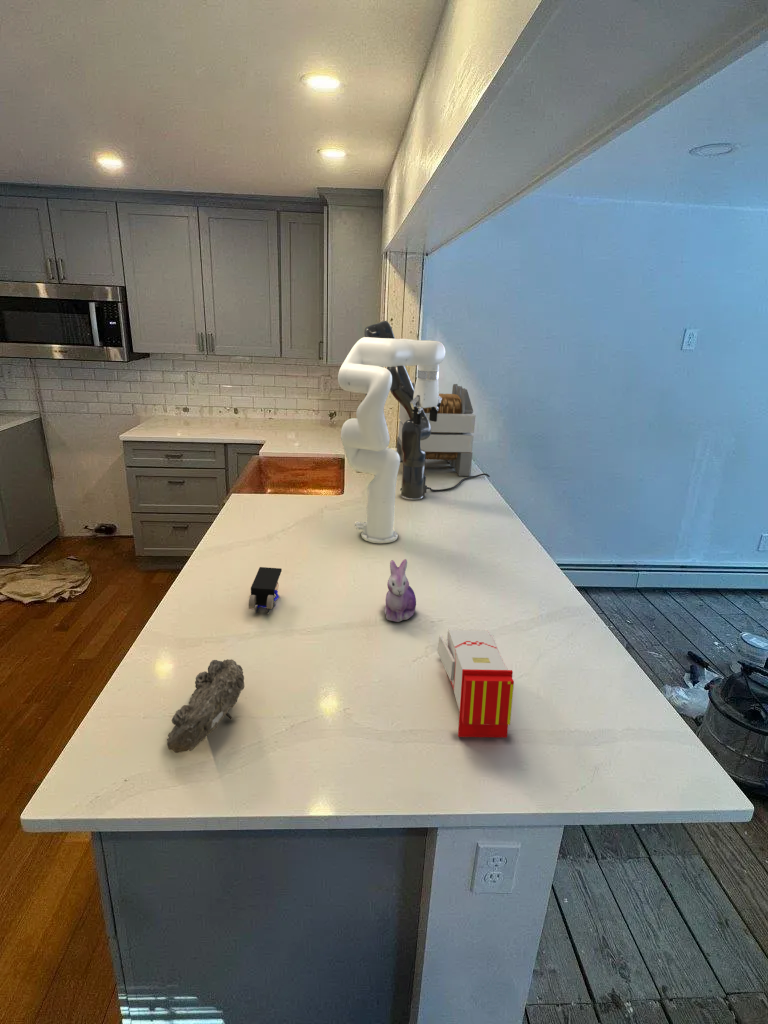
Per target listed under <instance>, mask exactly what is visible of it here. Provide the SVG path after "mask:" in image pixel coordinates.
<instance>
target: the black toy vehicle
mask: <svg viewBox="0 0 768 1024" xmlns="http://www.w3.org/2000/svg"><path fill="white" fill-rule="evenodd" d="M282 572H283V571H282V568H279V567H278V568H277V567H266V566H265V567H264V566H259V568H258V570H257V572H256V575H255V577H254V580H253V582H252V584H251V586H250V595H249V597H248V609H249V610H250V609H251V610H254V609H255V611H254V613H255V614H258V613H259V611H260V608H266V612H265V613H266V614H269V613H270V610H272V609H273V607H275V602H276V601H277V600H278V599H279V598H280V595H279V594H278V593H279V591H278V590H279V579H280V576H281V573H282Z"/></svg>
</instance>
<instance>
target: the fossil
mask: <svg viewBox="0 0 768 1024" xmlns="http://www.w3.org/2000/svg"><path fill="white" fill-rule="evenodd" d="M243 670H244V669H243V667H242V665H240V664H237V662H236V661H235V660H234V659H232V658H231V659H227V658H226V659H224V660H223V661H222V660H217V659H212V660H211V661H210V663H209V665H208V666H207V671H201V672H199V673H198V674H197V675H196V676H195V680H194V684H195V685H194V687H195V689H194V690H193V693H192V694H191V697H190V698H189V700H188V704H184V705H182V706H181V707H180V709H177V710H176V711H175V713H174V715H173V716H172V718H171V723H172V724H173V727H172V730H171V731H170V732H168V734H167V738H166V741H167V742H166V745H167V749H168V750H169V751H173V752H174V753H176V754H178V753H182V752H188V751H189V752H192V751H193V750H195V748H196V747H197V746H199V744H200V743H201V742H203V741H204V740H205V739H206V738H207V737H208V736H209V735H210V734H211V733H212V732H214V730H215V729H217V727H218V726H219V724H220V722H221V721H222V720H223V719H224V718H225V716H226V717H227V719H229V720H233V717H232V715H230V714H229V710H230V709H231V708H234V706H235V704H236V703H237V702H238V699H239V697H240V695H241V693H242V691H243V690H245V689H244V688H245V675H244V671H243Z"/></svg>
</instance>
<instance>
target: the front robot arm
mask: <svg viewBox="0 0 768 1024" xmlns="http://www.w3.org/2000/svg"><path fill="white" fill-rule="evenodd" d="M445 357H446V348H445V346H444V344H443V342H441V341H438V340H429V339H428V340H427V339H426V340H420V339H410V338H395V339H389V338H371V337H365V336H363V337H361V338H360V339H358V340H357V341H356V342H355V344H354V345H353V346H352V348H351V349H350V351H349V352H348V354H347V356H346V357H345V359H344V361H343V362H342V364H341V366H340V368H339V371H338V373H337V383H338V386H339V388H340V389H341V390H343V391H345V392H350V393H357V394H364V395H365V397H364V399H363V400H362V401H361V402H360V403H359V405H358V407H357V409H356V412H355V414H356V415H355V416H356V417H353V418H348V419H347V420H345V421H344V422H343V424H342V426H341V430H340V441H341V445H342V447H343V450H344V454H345V457H346V460H347V463H348V465H349V467H350V468H351V469H352V470H353V471H354V472H358V473H363V474H369V475H371V476H372V475H373V476H374V477H373V479H372V480H371V481H370V482H369V484H368V486H367V491H366V519H365V520H366V521H364V522H362V521H355V522H354V527H355V529H356V530H361V534H360V535H361V538H362V539H363V540H364V541H366V542H368V543H373V544H389V543H393V542H395V541H397V540H398V537H399V534H398V532H397V531H396V530H395V528H394V527H395V510H396V509H395V508H396V507H395V506H396V491H397V490H396V489H397V479H398V474H399V470H400V465H401V461H400V456H399V454H398V453H397V450H395V449H393V448H389V445H390V441H391V439H390V433H389V427H388V424H387V420H386V415H385V405H386V403H387V399H388V397H389V395H390V392H391V391H390V388H391V385H392V375H391V372H390V371H389V370H388V369H387V367H392V366H405V367H413V366H418V367H417V379H416V381H415V383H414V384H415V389H414V396H413V400H412V401H411V402H410V404H411V409H412V411H413V413H414V414H413V424H418V425H420V424H421V414H420V412H421V411H422V409H423V408H429V407H430V408H431V410H430V416H429V420H430V421H434V422H436V421H437V412H438V410H439V406H440V403H441V400H442V398H441V397H439V394H440V385H439V384H440V383H439V376H440V375H439V374H440V364H442V362H443V361H444V359H445ZM380 366H383V367H384V368H383V367H380ZM366 394H367V395H366ZM417 408H419V409H417Z"/></svg>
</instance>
